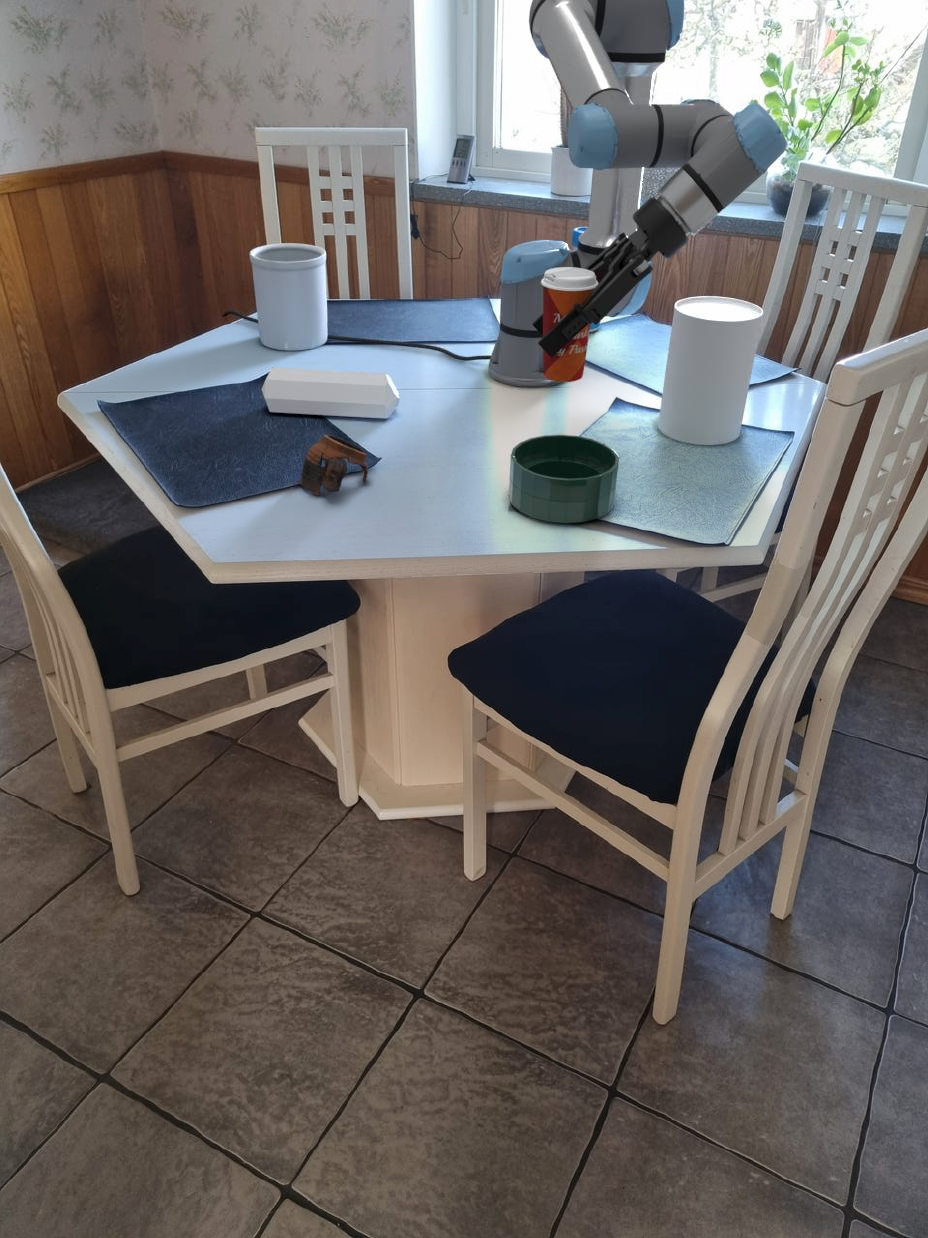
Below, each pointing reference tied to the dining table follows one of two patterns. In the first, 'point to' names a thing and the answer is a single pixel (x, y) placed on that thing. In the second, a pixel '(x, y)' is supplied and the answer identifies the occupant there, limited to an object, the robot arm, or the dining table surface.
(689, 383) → the canister
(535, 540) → the dining table surface
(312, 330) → the utensil holder
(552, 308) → the paper cup
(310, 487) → the leather tool belt
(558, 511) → the green pet bowl
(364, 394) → the crystal
